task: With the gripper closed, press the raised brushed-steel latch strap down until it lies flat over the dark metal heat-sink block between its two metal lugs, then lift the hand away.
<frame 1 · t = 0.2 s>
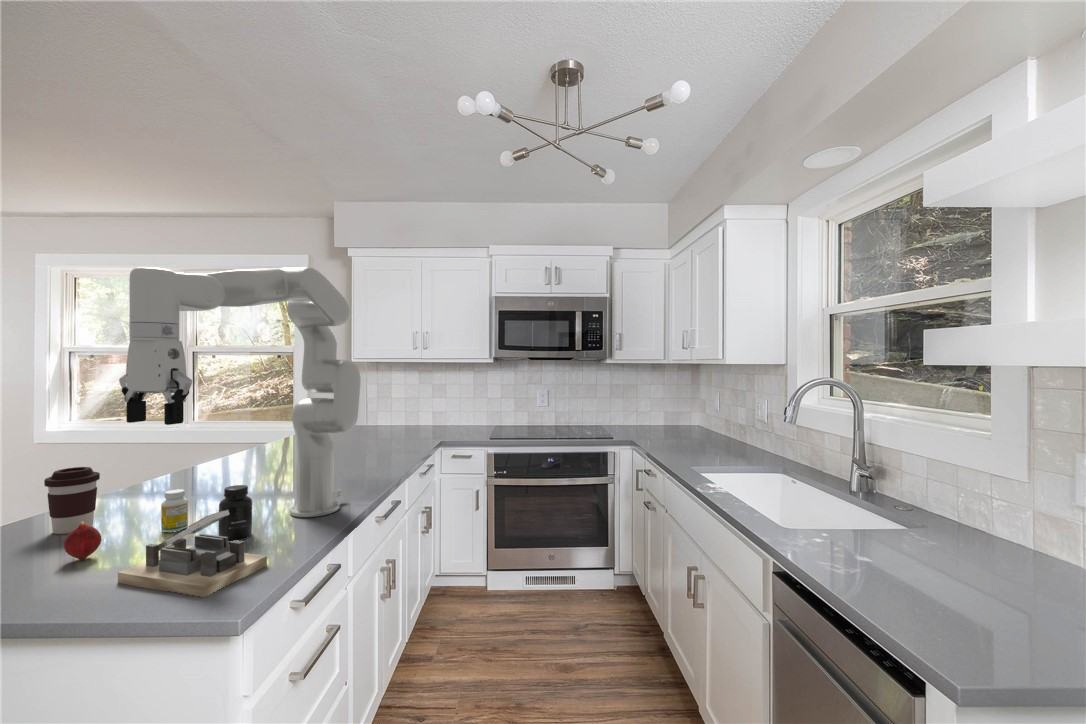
hand: (155, 422, 94), 31 cm above the worktop, tool pointing down, fingers open, 9 cm apart
heatsink base: (166, 569, 100), on the worktop
coffee cup: (73, 530, 122), on the worktop
latch strap: (191, 530, 98), point 9 cm above the worktop, hinge at 28.0°
supplement bottle 2: (174, 530, 123), on the worktop
supplement bottle: (235, 538, 117), on the worktop
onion: (83, 560, 104), on the worktop
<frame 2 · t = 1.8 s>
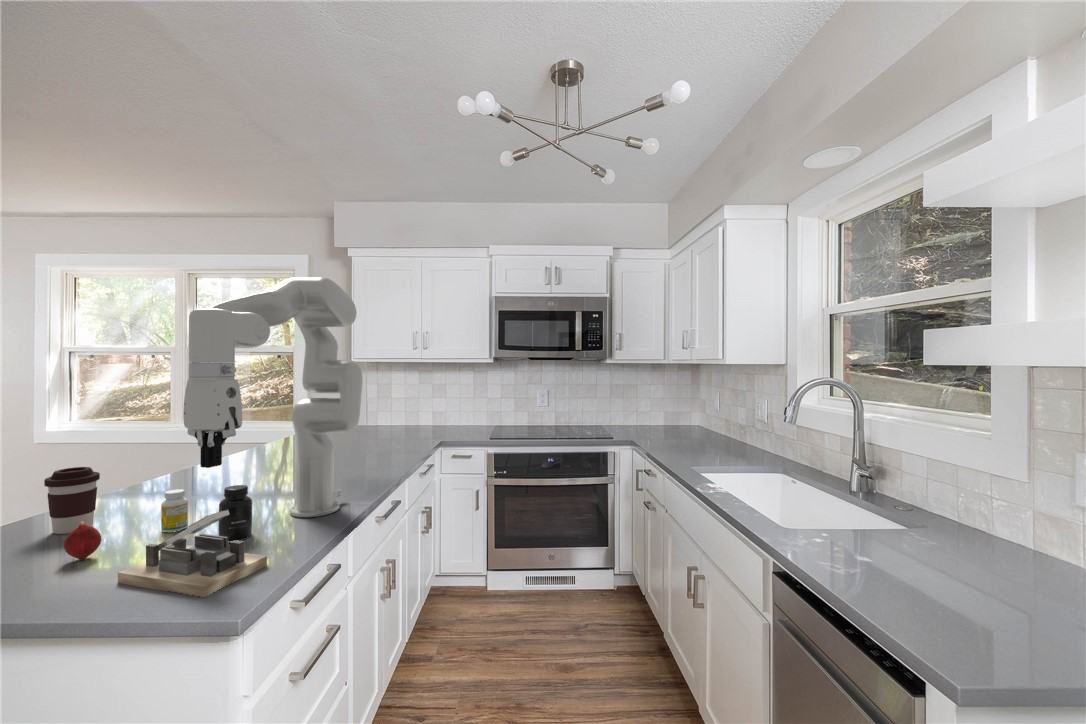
hand: (211, 466, 96), 22 cm above the worktop, tool pointing down, fingers closed
nothing on the worktop moved.
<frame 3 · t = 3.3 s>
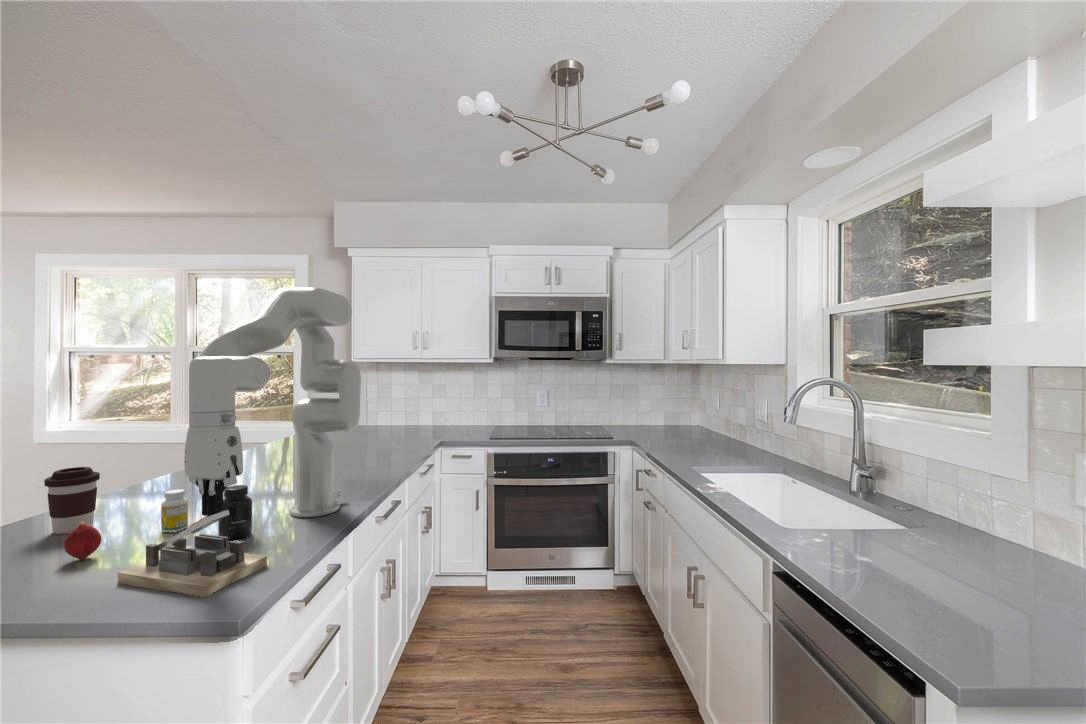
hand: (212, 513, 96), 12 cm above the worktop, tool pointing down, fingers closed
latch strap: (191, 530, 98), point 9 cm above the worktop, hinge at 28.0°, touching gripper
everything else where it was.
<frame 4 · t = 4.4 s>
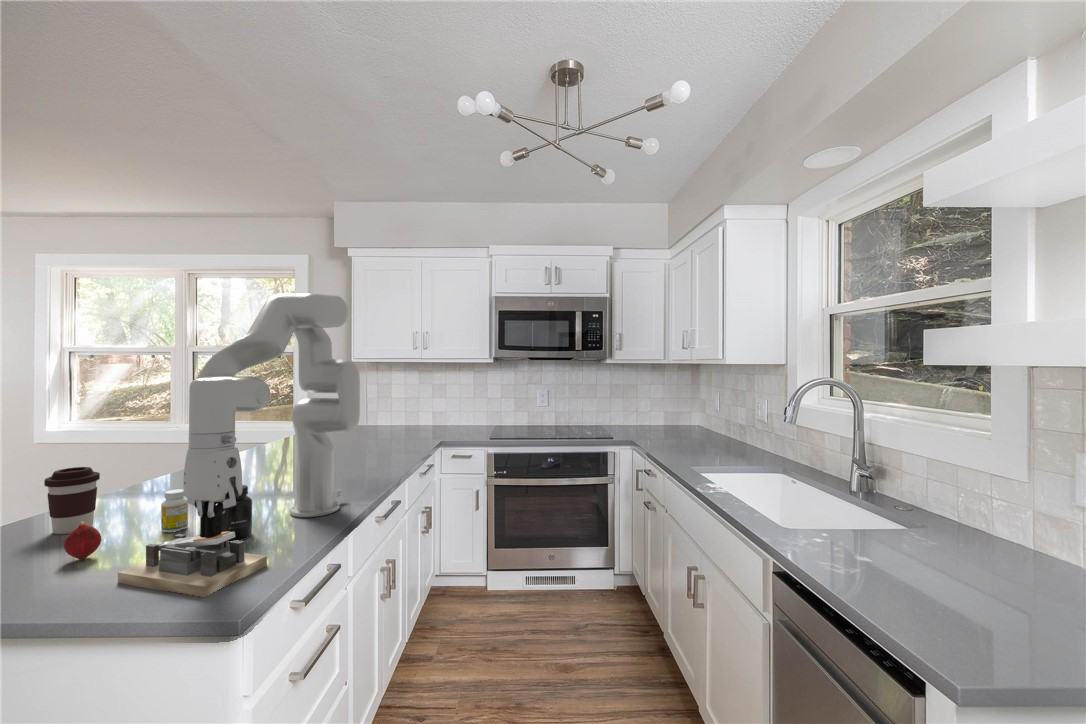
hand: (211, 535, 96), 8 cm above the worktop, tool pointing down, fingers closed
latch strap: (194, 541, 98), point 7 cm above the worktop, hinge at 11.1°, touching gripper
everything else where it was.
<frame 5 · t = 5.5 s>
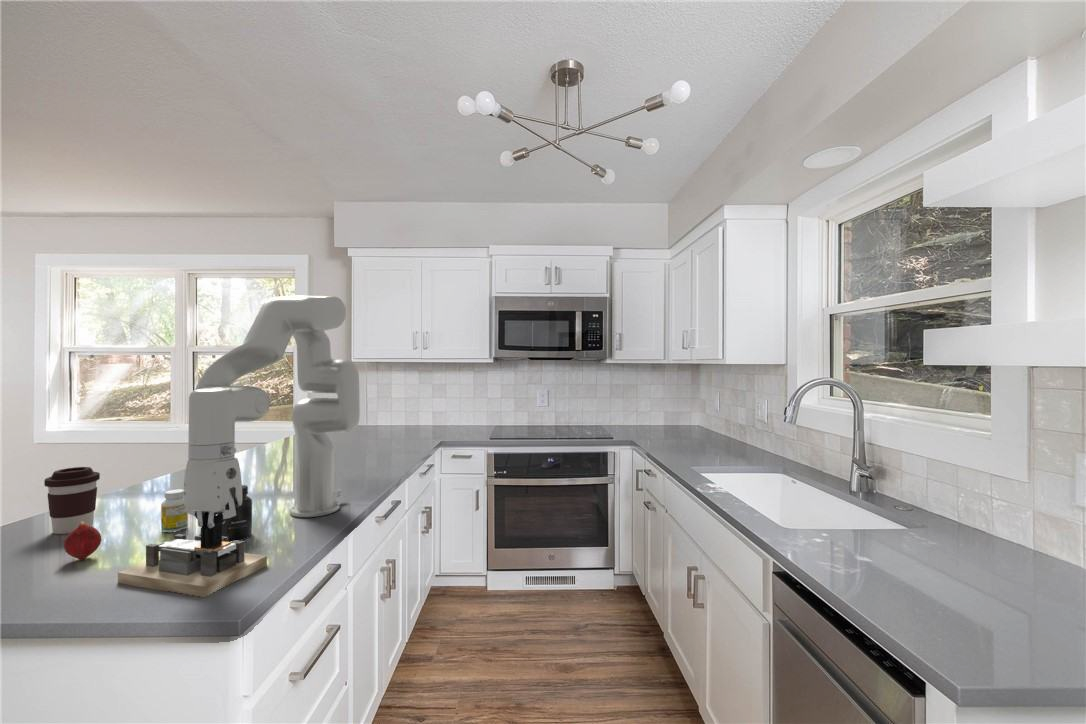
hand: (211, 545, 96), 6 cm above the worktop, tool pointing down, fingers closed
latch strap: (195, 546, 98), point 5 cm above the worktop, hinge at 2.4°, touching gripper
everything else where it was.
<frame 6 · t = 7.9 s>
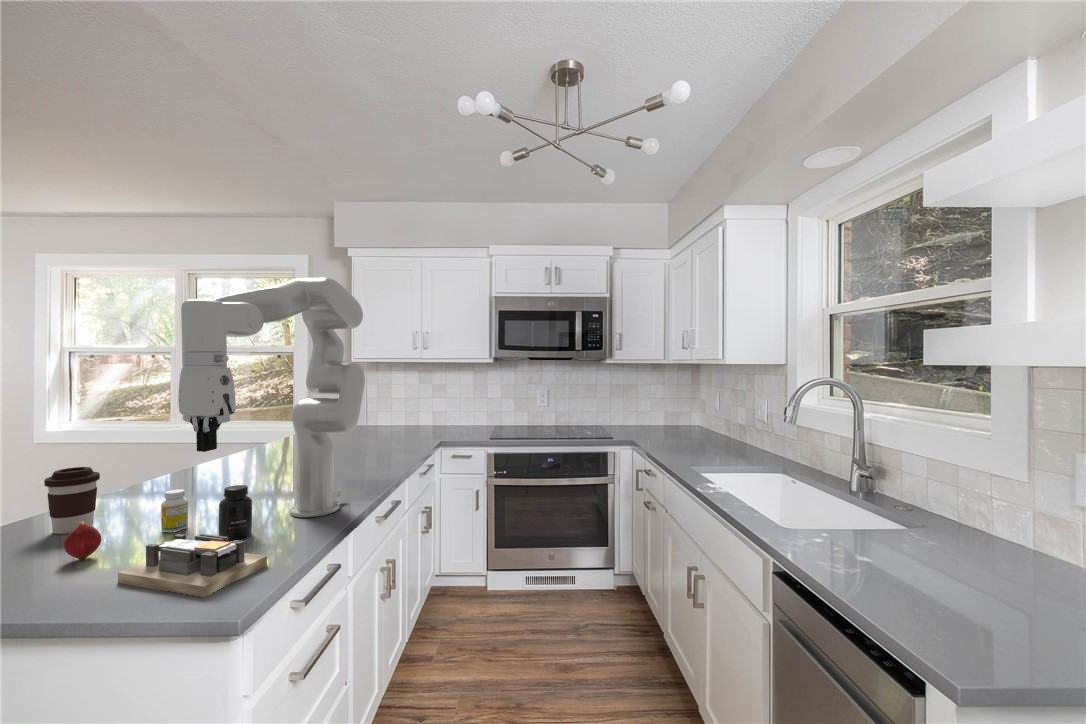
hand: (207, 450, 101), 24 cm above the worktop, tool pointing down, fingers closed
latch strap: (195, 546, 98), point 5 cm above the worktop, hinge at 2.3°
everything else where it was.
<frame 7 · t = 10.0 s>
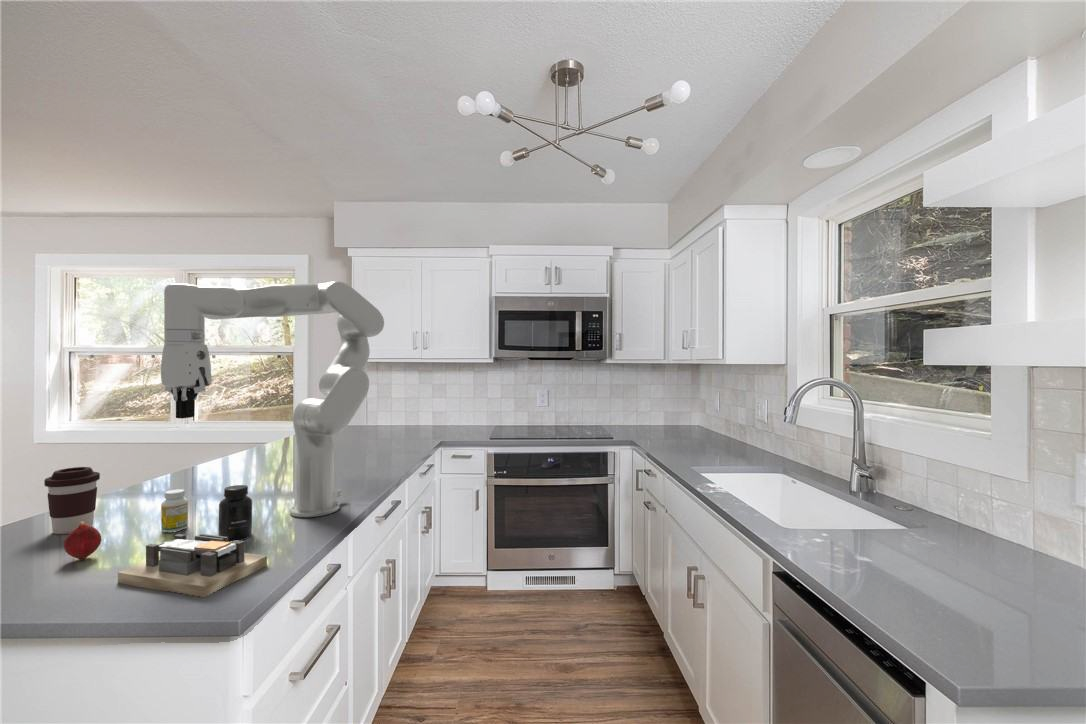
hand: (185, 417, 114), 29 cm above the worktop, tool pointing down, fingers closed
nothing on the worktop moved.
at the end: latch strap at +2° (first picture: +28°); supplement bottle moved 0.2 cm from its start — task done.
